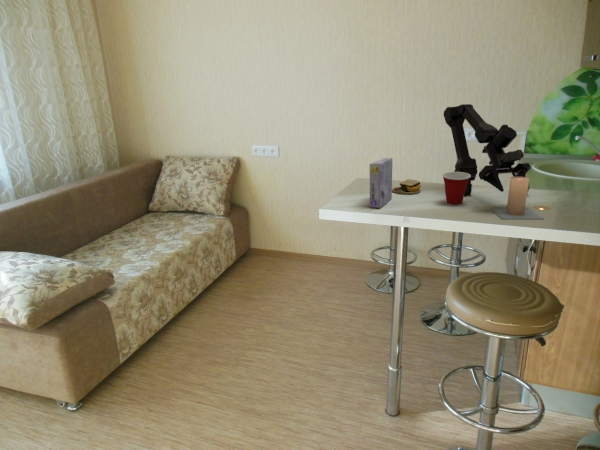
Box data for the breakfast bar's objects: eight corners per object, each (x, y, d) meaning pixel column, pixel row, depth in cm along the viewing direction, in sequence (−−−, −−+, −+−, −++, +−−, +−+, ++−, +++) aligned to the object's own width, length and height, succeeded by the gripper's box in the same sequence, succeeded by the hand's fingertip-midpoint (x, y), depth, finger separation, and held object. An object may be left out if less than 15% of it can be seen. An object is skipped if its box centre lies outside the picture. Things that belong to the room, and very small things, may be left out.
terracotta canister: (505, 214, 160) (509, 178, 157) (507, 210, 165) (511, 175, 161) (523, 216, 157) (528, 180, 153) (525, 212, 162) (530, 177, 158)
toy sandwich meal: (386, 191, 203) (386, 181, 201) (408, 187, 209) (409, 178, 208) (405, 196, 192) (405, 186, 191) (427, 192, 199) (428, 182, 197)
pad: (502, 219, 155) (502, 218, 155) (489, 209, 169) (489, 208, 168) (543, 219, 154) (544, 218, 154) (527, 209, 167) (527, 208, 167)
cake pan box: (381, 197, 191) (383, 156, 186) (393, 198, 189) (394, 157, 184) (368, 208, 175) (369, 163, 169) (380, 209, 172) (381, 164, 167)
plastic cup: (439, 205, 175) (441, 176, 172) (440, 199, 185) (442, 171, 181) (468, 207, 171) (471, 177, 168) (468, 201, 181) (471, 172, 178)
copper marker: (537, 209, 166) (537, 209, 166) (531, 206, 172) (531, 205, 172) (552, 209, 166) (552, 209, 166) (546, 206, 171) (546, 205, 171)
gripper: (486, 143, 159) (503, 179, 152) (531, 140, 163) (549, 176, 156) (471, 161, 169) (486, 196, 162) (513, 159, 173) (530, 192, 166)
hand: (513, 190), depth 161 cm, fingers open, 9 cm apart
